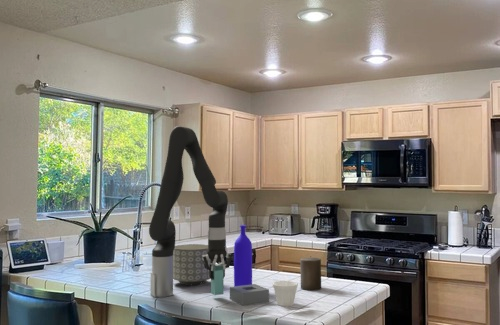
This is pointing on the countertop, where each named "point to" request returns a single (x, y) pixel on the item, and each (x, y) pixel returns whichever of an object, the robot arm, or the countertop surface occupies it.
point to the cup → (285, 292)
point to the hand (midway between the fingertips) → (217, 278)
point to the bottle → (242, 259)
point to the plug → (217, 280)
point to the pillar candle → (310, 273)
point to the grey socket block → (249, 294)
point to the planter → (190, 264)
